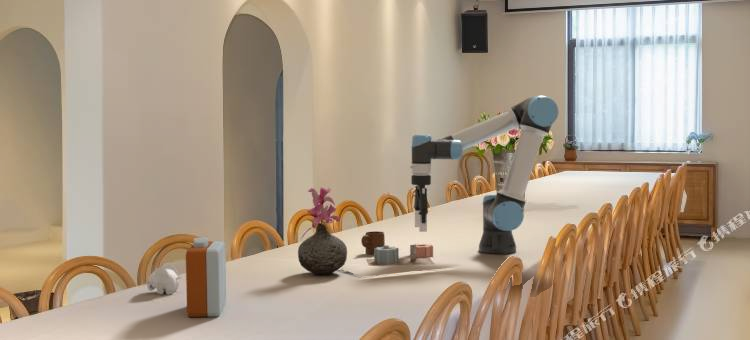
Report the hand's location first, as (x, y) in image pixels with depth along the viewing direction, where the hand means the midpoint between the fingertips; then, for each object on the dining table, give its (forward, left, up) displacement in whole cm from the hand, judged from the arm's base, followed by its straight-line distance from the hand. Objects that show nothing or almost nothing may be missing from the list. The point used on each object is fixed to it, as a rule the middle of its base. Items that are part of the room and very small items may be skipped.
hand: (420, 229), depth 307 cm
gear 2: (0, 0, -11) cm, 11 cm away
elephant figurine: (+89, +53, -12) cm, 104 cm away
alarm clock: (+72, +79, -12) cm, 107 cm away
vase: (+39, +29, -12) cm, 50 cm away
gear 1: (+15, +13, -10) cm, 22 cm away
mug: (+19, -6, -12) cm, 23 cm away
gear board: (+10, +13, -11) cm, 20 cm away
